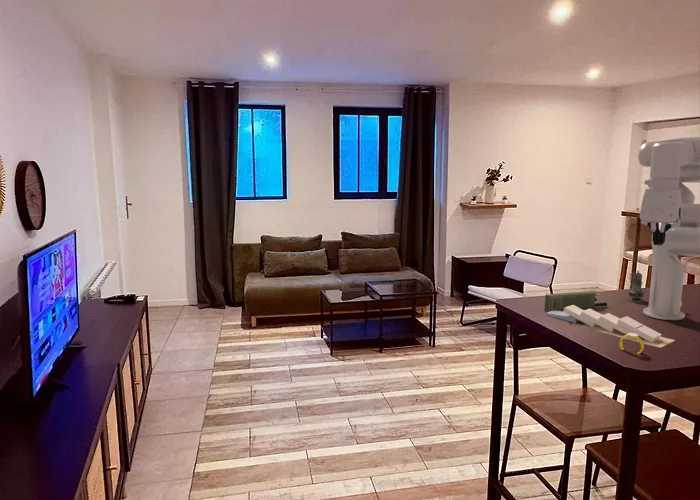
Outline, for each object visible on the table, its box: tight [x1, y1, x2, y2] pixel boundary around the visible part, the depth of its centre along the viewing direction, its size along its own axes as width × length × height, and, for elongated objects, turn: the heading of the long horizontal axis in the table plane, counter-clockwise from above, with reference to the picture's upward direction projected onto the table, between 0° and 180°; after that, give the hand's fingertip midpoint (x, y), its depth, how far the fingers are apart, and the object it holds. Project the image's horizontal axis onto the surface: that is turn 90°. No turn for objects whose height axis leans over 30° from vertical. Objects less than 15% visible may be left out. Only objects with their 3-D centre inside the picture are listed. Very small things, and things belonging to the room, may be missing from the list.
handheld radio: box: [543, 290, 608, 313], centre depth 186 cm, size 7×3×25 cm
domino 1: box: [545, 310, 580, 323], centre depth 174 cm, size 2×5×11 cm
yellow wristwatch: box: [619, 333, 645, 355], centre depth 143 cm, size 6×3×6 cm, turn 45°
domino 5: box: [617, 315, 662, 343], centre depth 154 cm, size 2×5×11 cm
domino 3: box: [580, 308, 616, 332], centre depth 164 cm, size 2×5×11 cm
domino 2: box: [562, 305, 598, 327], centre depth 169 cm, size 2×5×11 cm
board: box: [570, 321, 676, 349], centre depth 159 cm, size 10×28×1 cm, turn 36°
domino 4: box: [599, 312, 633, 335], centre depth 159 cm, size 2×5×11 cm
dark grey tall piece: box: [627, 270, 646, 303], centre depth 195 cm, size 6×6×12 cm
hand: (658, 244), depth 153 cm, fingers closed
